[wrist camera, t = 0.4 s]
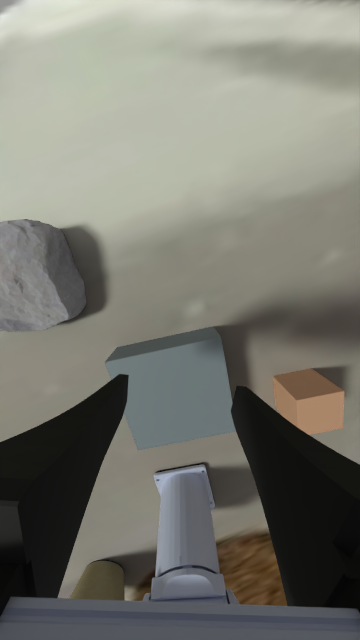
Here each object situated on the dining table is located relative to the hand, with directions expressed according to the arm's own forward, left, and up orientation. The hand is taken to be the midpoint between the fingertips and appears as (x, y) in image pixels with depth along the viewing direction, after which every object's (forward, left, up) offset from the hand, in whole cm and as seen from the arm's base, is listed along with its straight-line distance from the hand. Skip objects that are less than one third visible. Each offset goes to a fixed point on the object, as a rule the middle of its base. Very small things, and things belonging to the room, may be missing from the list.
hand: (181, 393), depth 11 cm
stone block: (+10, +15, -10) cm, 20 cm away
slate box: (-5, +2, -10) cm, 11 cm away
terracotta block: (-10, -13, -10) cm, 19 cm away
